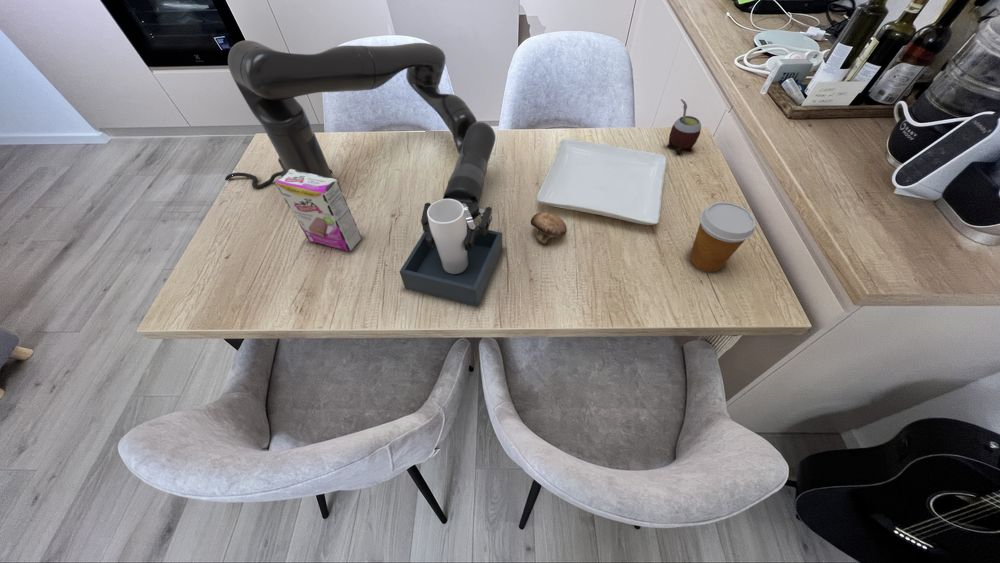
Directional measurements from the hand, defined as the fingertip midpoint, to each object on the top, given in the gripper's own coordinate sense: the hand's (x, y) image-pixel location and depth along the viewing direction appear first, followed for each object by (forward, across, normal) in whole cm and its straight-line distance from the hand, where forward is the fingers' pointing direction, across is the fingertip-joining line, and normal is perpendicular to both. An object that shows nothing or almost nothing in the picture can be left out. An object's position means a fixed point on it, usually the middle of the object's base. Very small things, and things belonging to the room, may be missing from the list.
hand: (448, 246), depth 74 cm
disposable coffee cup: (-10, -51, -10) cm, 53 cm away
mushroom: (-14, -18, -9) cm, 25 cm away
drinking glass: (-2, 0, -8) cm, 9 cm away
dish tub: (-2, 0, -9) cm, 9 cm away
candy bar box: (-7, +29, -9) cm, 31 cm away
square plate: (-32, -31, -10) cm, 45 cm away
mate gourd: (-51, -51, -10) cm, 73 cm away
